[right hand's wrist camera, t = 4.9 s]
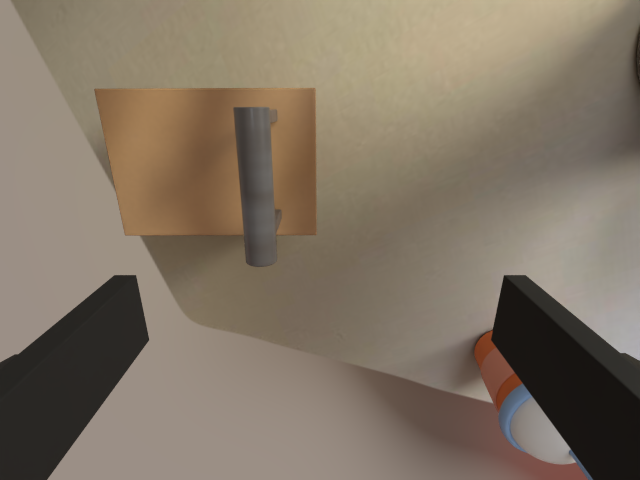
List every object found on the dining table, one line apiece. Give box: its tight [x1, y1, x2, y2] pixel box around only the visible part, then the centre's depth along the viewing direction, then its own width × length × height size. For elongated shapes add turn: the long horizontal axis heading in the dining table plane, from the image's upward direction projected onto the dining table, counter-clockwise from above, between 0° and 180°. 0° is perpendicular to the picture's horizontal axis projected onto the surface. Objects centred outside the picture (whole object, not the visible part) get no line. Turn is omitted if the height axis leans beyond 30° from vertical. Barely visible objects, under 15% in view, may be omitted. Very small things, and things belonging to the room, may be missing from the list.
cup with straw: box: [474, 330, 593, 480], centre depth 35 cm, size 9×9×18 cm
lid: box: [95, 88, 317, 267], centre depth 20 cm, size 14×10×9 cm
